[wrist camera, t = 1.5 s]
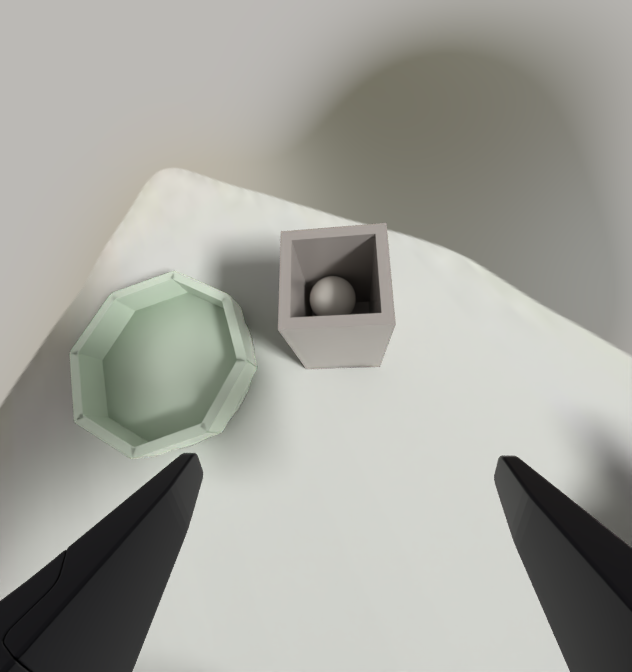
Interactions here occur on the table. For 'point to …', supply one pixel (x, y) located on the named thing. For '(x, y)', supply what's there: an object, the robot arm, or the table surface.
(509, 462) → the robot arm
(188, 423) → the dish
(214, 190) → the table surface
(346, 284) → the pebble
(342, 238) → the tumbler
